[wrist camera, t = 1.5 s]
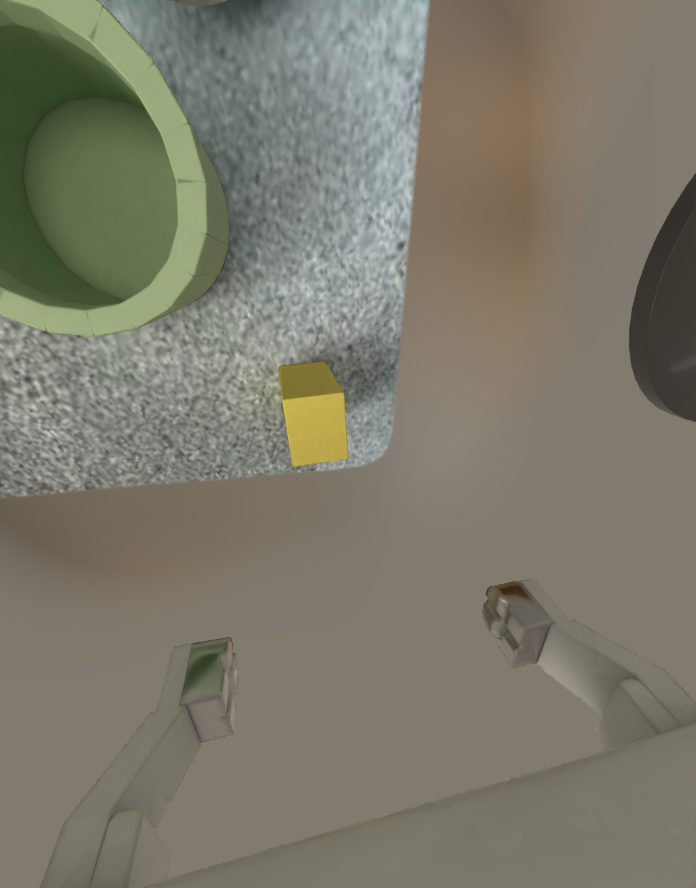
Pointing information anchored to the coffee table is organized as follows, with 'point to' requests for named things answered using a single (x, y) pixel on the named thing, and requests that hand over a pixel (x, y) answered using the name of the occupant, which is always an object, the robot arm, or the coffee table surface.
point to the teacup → (198, 2)
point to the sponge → (313, 413)
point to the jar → (97, 177)
